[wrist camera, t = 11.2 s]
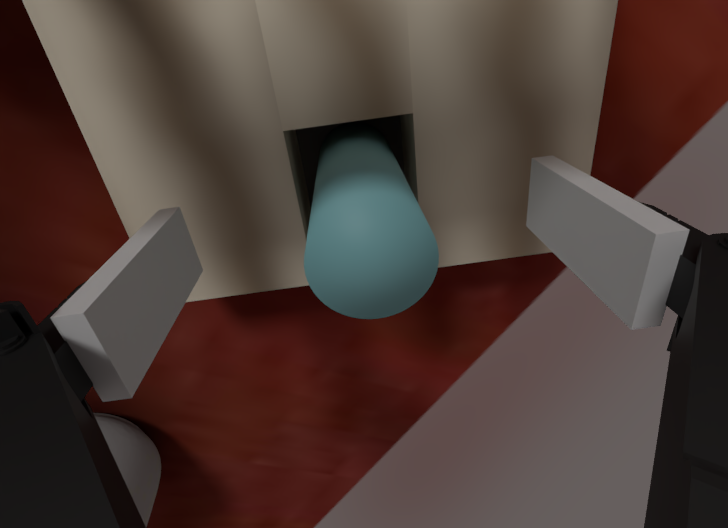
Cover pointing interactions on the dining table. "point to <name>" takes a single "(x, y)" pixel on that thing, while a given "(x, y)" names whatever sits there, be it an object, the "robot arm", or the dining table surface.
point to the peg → (366, 229)
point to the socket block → (326, 113)
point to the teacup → (133, 460)
